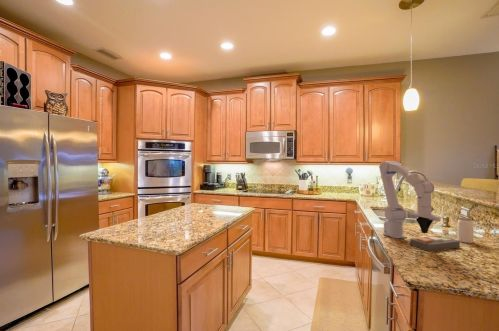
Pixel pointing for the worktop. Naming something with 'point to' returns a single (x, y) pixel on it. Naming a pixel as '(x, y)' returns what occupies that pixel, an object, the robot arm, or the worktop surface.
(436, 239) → the cream key
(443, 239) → the sage key
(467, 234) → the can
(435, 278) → the worktop surface
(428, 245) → the keypad
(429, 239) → the terracotta key
